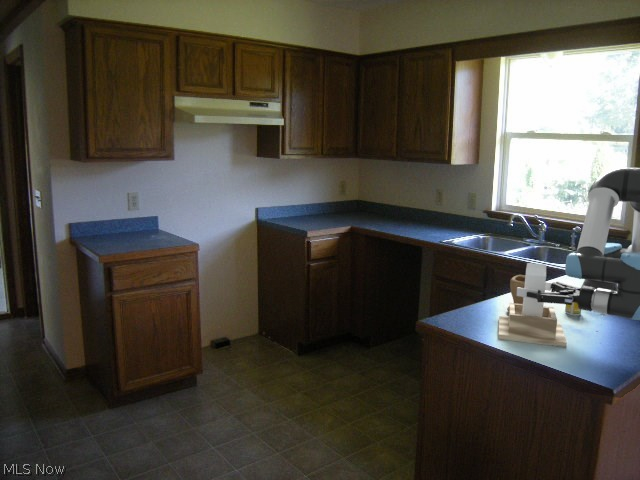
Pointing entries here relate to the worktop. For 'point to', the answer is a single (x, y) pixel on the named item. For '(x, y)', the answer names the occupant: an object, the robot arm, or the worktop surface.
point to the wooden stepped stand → (531, 327)
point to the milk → (534, 288)
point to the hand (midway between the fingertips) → (524, 287)
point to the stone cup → (514, 283)
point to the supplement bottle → (572, 309)
